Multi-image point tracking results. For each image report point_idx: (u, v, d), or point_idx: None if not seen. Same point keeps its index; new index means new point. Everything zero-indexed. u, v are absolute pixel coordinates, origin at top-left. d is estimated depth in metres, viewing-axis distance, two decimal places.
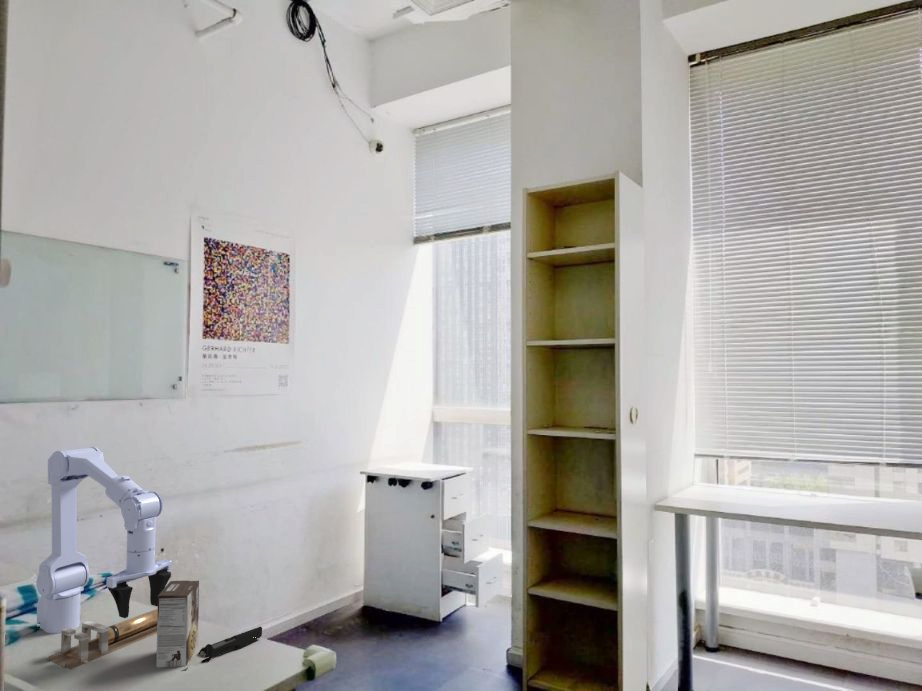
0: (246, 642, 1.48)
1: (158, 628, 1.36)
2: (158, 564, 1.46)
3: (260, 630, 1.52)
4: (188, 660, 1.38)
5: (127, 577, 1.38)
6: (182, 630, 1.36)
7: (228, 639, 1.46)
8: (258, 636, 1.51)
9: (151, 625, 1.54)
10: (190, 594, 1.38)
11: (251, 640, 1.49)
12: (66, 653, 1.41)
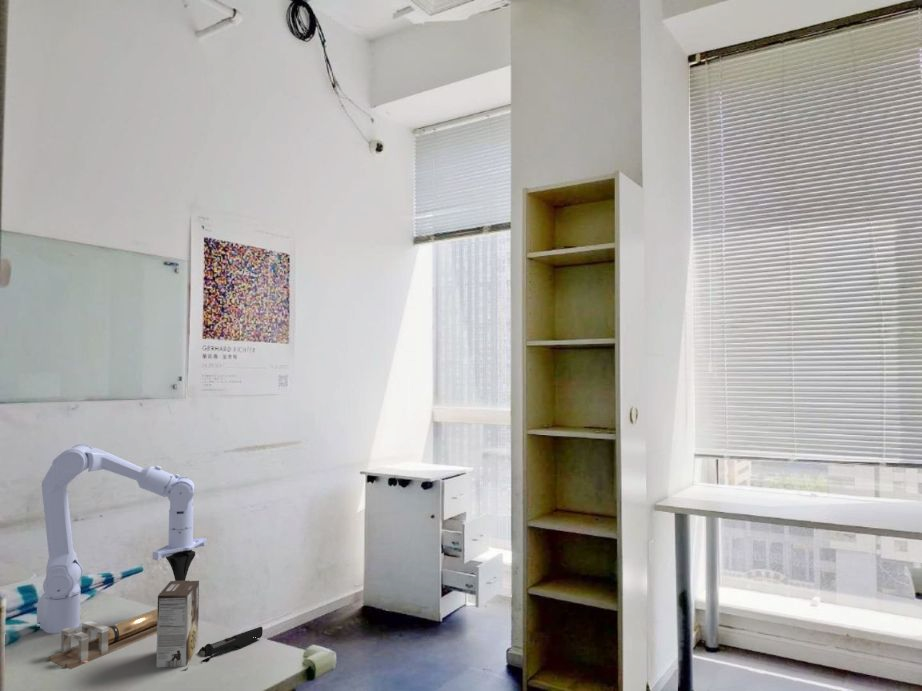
0: (246, 642, 1.48)
1: (158, 628, 1.36)
2: (195, 541, 1.67)
3: (260, 630, 1.52)
4: (188, 660, 1.38)
5: (170, 551, 1.59)
6: (182, 630, 1.36)
7: (228, 639, 1.46)
8: (258, 636, 1.51)
9: (151, 625, 1.54)
10: (190, 594, 1.38)
11: (251, 640, 1.49)
12: (66, 653, 1.41)
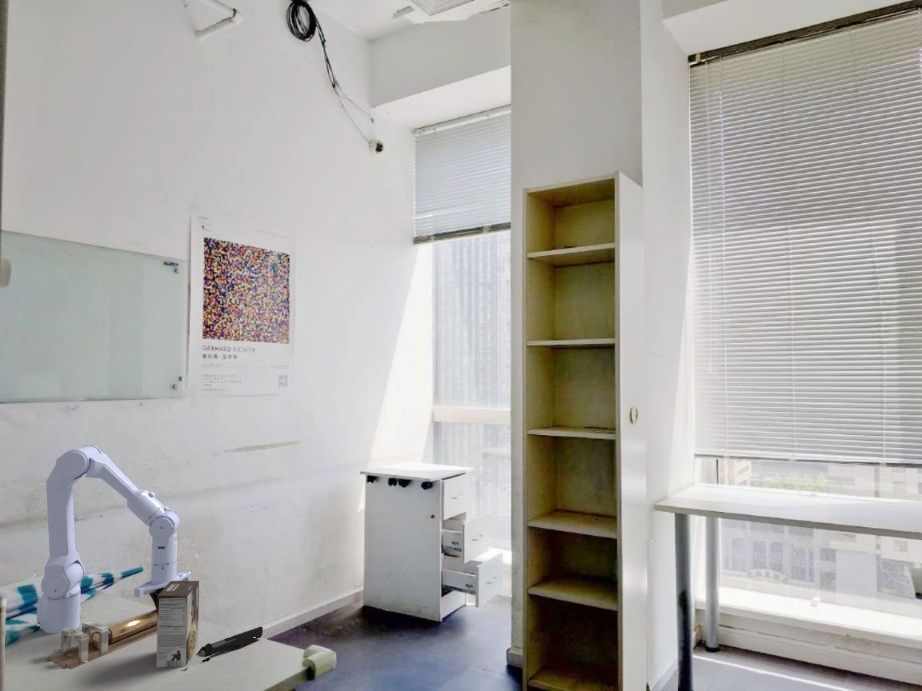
0: (247, 642, 1.48)
1: (158, 628, 1.36)
2: (179, 575, 1.63)
3: (261, 630, 1.52)
4: (188, 660, 1.38)
5: (152, 588, 1.54)
6: (182, 630, 1.36)
7: (228, 638, 1.47)
8: (258, 636, 1.51)
9: (145, 627, 1.53)
10: (190, 594, 1.38)
11: (251, 640, 1.50)
12: (66, 653, 1.41)
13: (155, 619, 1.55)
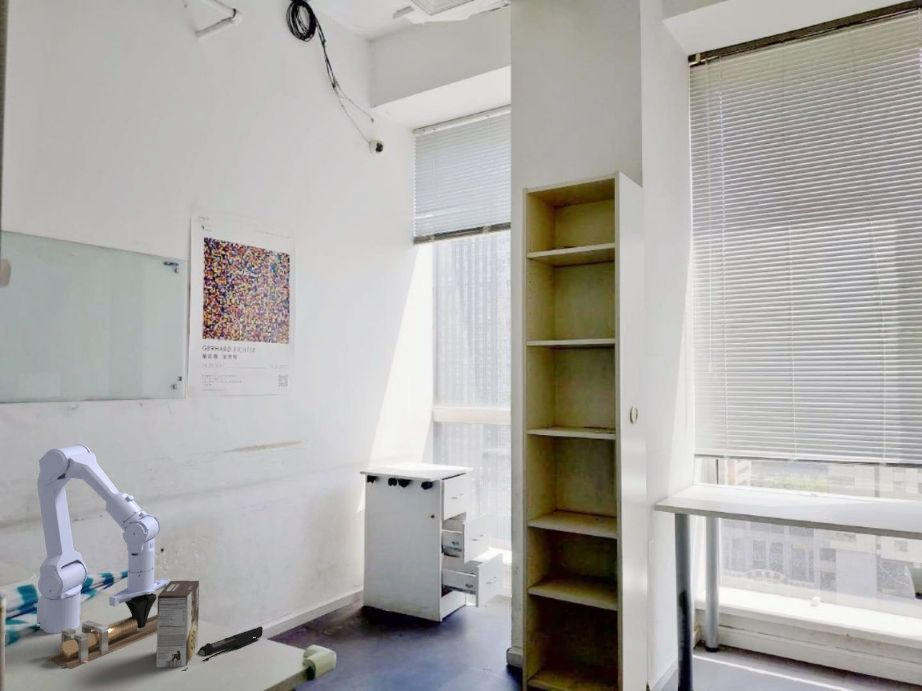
0: (246, 641, 1.49)
1: (158, 628, 1.36)
2: (157, 583, 1.57)
3: (260, 630, 1.52)
4: (188, 660, 1.38)
5: (128, 596, 1.49)
6: (182, 630, 1.36)
7: (228, 638, 1.47)
8: (258, 636, 1.51)
9: (119, 636, 1.47)
10: (190, 594, 1.38)
11: (251, 640, 1.50)
12: None
13: (129, 627, 1.49)
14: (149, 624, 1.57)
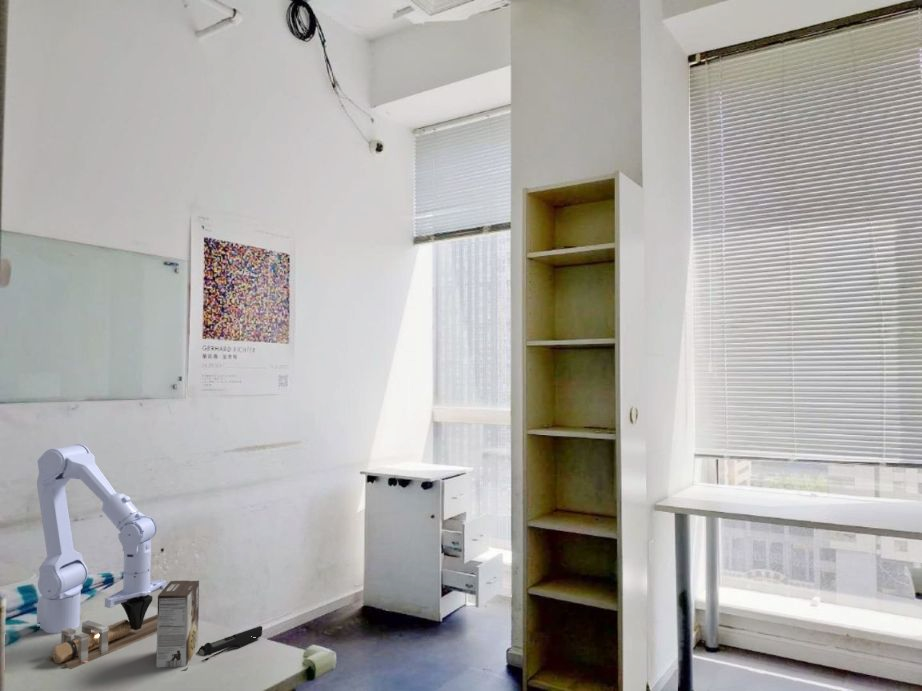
0: (246, 641, 1.49)
1: (158, 628, 1.36)
2: (153, 584, 1.56)
3: (260, 629, 1.53)
4: (188, 660, 1.38)
5: (124, 597, 1.48)
6: (182, 630, 1.36)
7: (228, 638, 1.47)
8: (258, 635, 1.51)
9: (113, 637, 1.46)
10: (190, 594, 1.38)
11: (251, 639, 1.50)
12: None
13: (122, 628, 1.48)
14: (149, 624, 1.57)
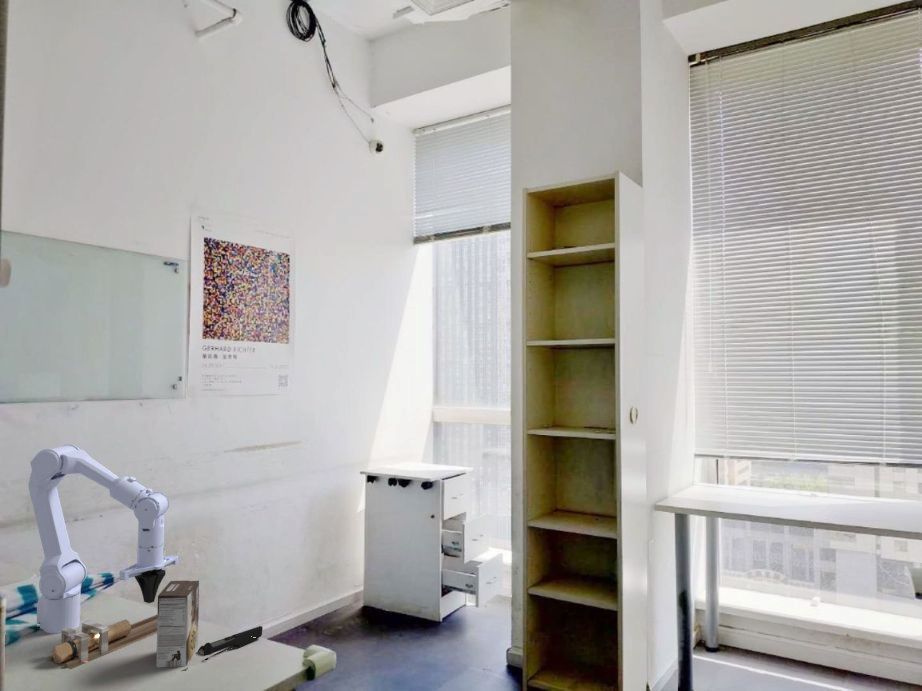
0: (246, 641, 1.49)
1: (158, 628, 1.36)
2: (166, 559, 1.59)
3: (260, 629, 1.53)
4: (188, 660, 1.38)
5: (138, 570, 1.51)
6: (182, 630, 1.36)
7: (227, 638, 1.47)
8: (258, 635, 1.52)
9: (113, 638, 1.46)
10: (190, 594, 1.38)
11: (251, 639, 1.50)
12: None
13: (122, 628, 1.48)
14: (149, 624, 1.57)
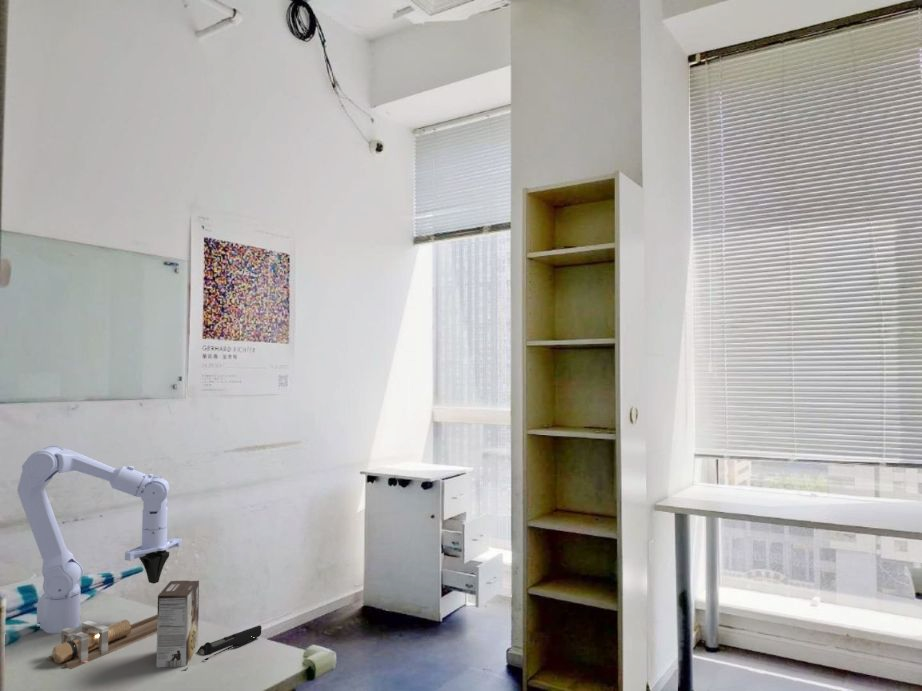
0: (245, 640, 1.49)
1: (158, 628, 1.36)
2: (169, 541, 1.65)
3: (259, 629, 1.53)
4: (188, 660, 1.38)
5: (143, 552, 1.57)
6: (182, 630, 1.36)
7: (227, 637, 1.47)
8: (257, 635, 1.52)
9: (113, 638, 1.46)
10: (190, 594, 1.38)
11: (250, 639, 1.50)
12: None
13: (122, 628, 1.48)
14: (149, 624, 1.57)
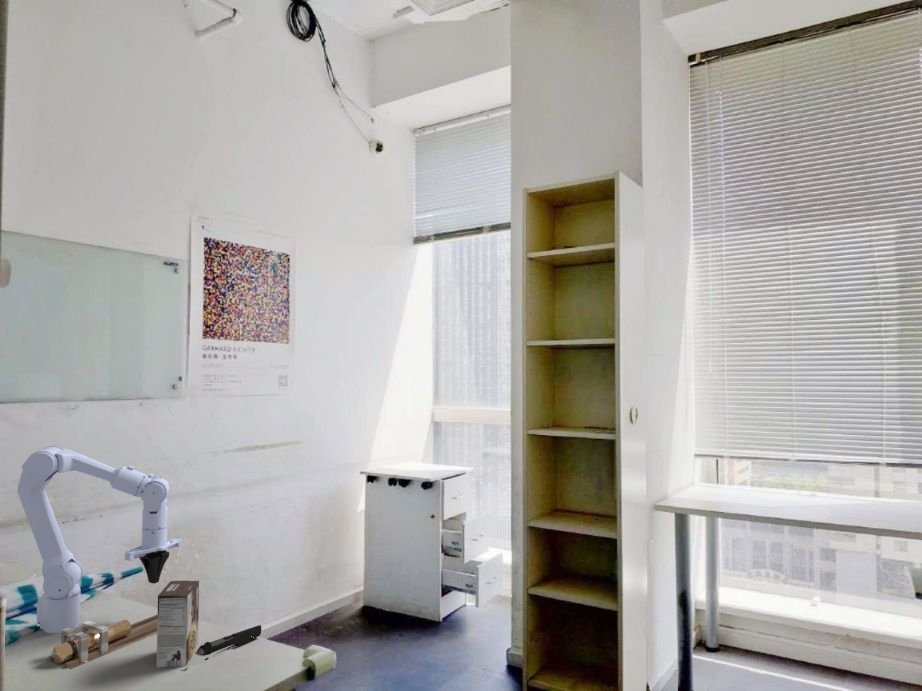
0: (245, 640, 1.49)
1: (158, 628, 1.36)
2: (169, 541, 1.65)
3: (259, 628, 1.53)
4: (188, 660, 1.38)
5: (143, 552, 1.57)
6: (182, 630, 1.36)
7: (227, 637, 1.47)
8: (257, 634, 1.52)
9: (113, 638, 1.46)
10: (190, 594, 1.38)
11: (250, 638, 1.50)
12: None
13: (122, 628, 1.48)
14: (149, 624, 1.57)
